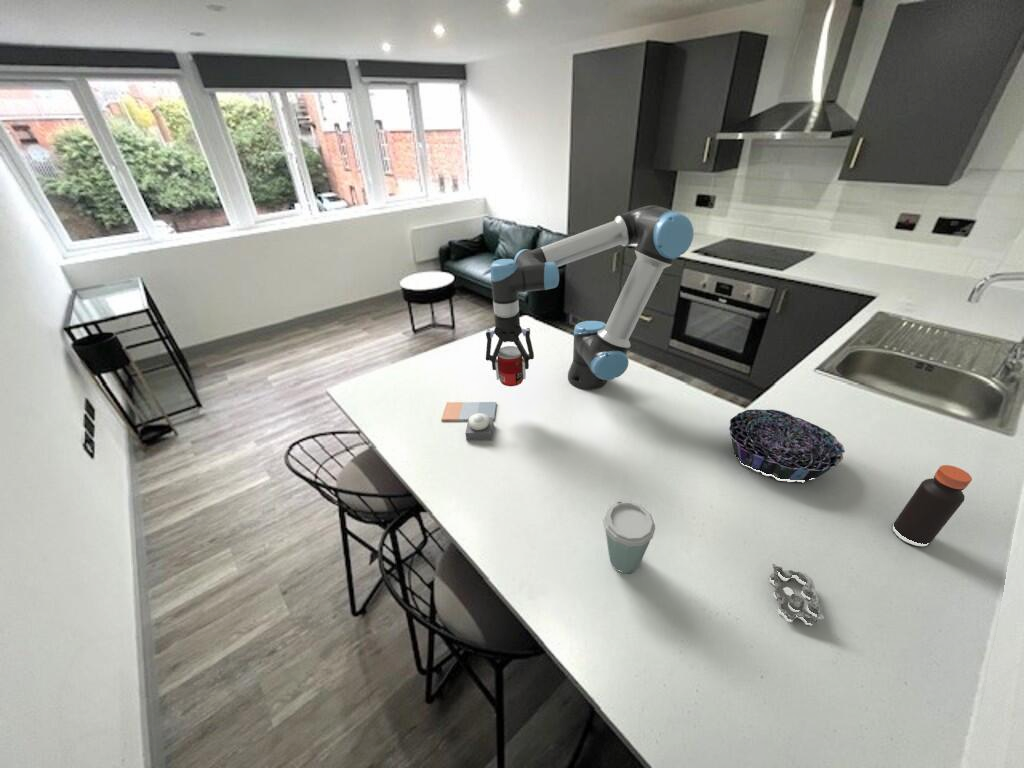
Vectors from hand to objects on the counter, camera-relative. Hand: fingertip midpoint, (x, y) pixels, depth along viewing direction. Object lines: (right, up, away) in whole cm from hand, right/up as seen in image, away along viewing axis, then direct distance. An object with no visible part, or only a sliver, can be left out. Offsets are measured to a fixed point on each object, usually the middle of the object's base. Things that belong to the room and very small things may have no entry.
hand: (511, 377), depth 136 cm
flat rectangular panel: (-15, -12, +9) cm, 21 cm away
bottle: (+93, -38, -40) cm, 108 cm away
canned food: (0, -1, +1) cm, 2 cm away
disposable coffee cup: (+25, -43, -42) cm, 65 cm away
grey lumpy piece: (+58, -47, -51) cm, 90 cm away
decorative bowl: (+76, -24, -17) cm, 82 cm away
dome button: (-10, -17, -2) cm, 20 cm away
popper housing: (-10, -18, -1) cm, 21 cm away
